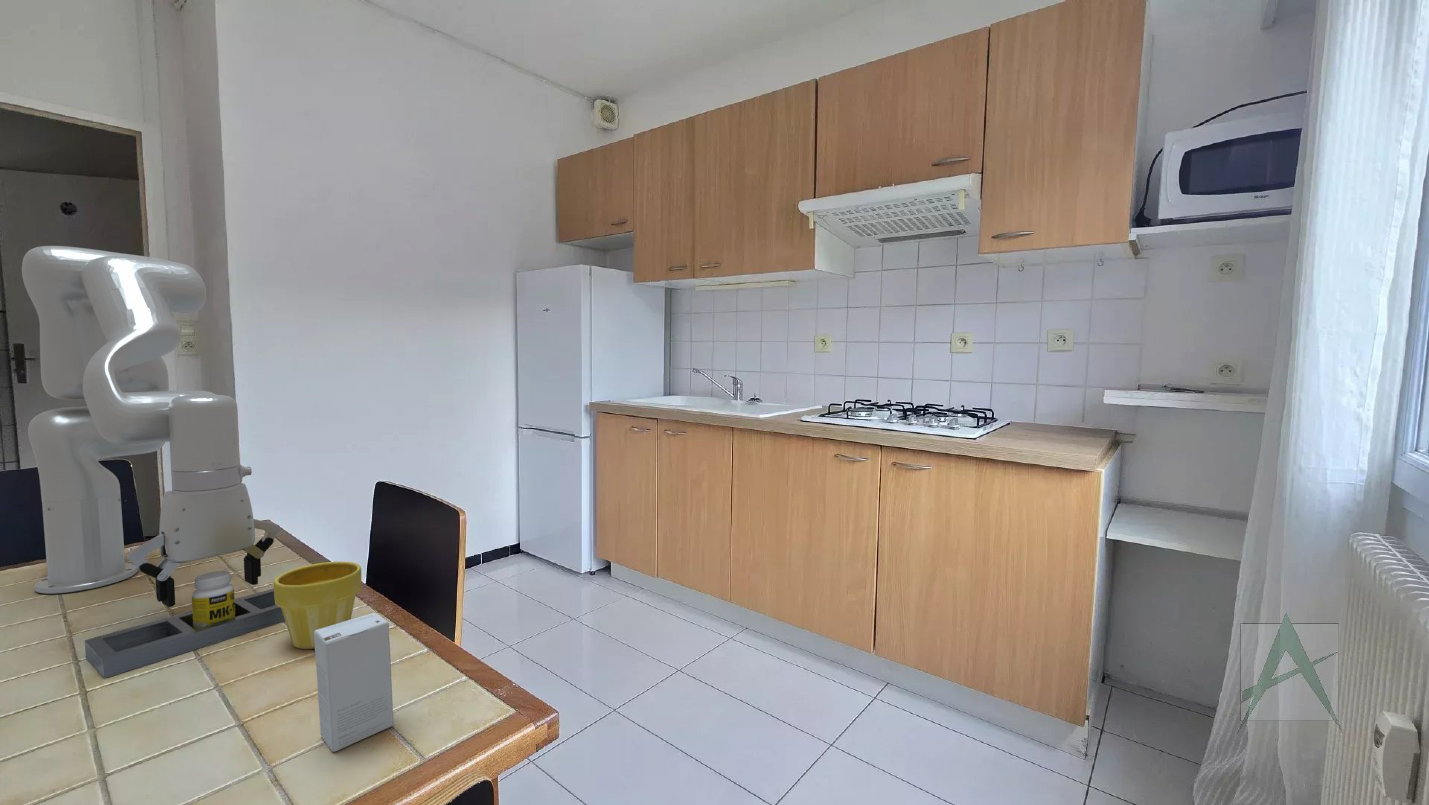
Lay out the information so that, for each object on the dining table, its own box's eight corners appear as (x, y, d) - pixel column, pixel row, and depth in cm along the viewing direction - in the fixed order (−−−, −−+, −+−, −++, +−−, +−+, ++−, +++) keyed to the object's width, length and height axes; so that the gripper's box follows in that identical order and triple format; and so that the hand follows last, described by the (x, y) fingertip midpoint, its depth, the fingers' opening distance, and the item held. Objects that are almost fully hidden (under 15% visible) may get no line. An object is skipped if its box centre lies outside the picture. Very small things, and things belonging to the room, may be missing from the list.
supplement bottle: (211, 639, 83) (207, 582, 82) (185, 636, 84) (181, 580, 83) (244, 625, 88) (241, 571, 87) (219, 622, 89) (216, 568, 88)
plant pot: (330, 618, 90) (327, 556, 90) (379, 628, 87) (377, 565, 86) (258, 648, 80) (255, 580, 80) (311, 662, 77) (308, 590, 76)
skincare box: (379, 712, 66) (376, 609, 65) (395, 728, 63) (392, 620, 62) (316, 738, 61) (312, 628, 61) (330, 757, 59) (326, 641, 58)
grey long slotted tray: (85, 657, 78) (84, 640, 78) (298, 595, 99) (297, 581, 99) (104, 678, 73) (103, 660, 73) (324, 608, 94) (323, 594, 93)
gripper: (266, 467, 94) (270, 570, 95) (116, 486, 79) (122, 607, 80) (287, 473, 89) (290, 581, 91) (132, 494, 75) (139, 621, 76)
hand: (211, 593), depth 86 cm, fingers open, 9 cm apart
